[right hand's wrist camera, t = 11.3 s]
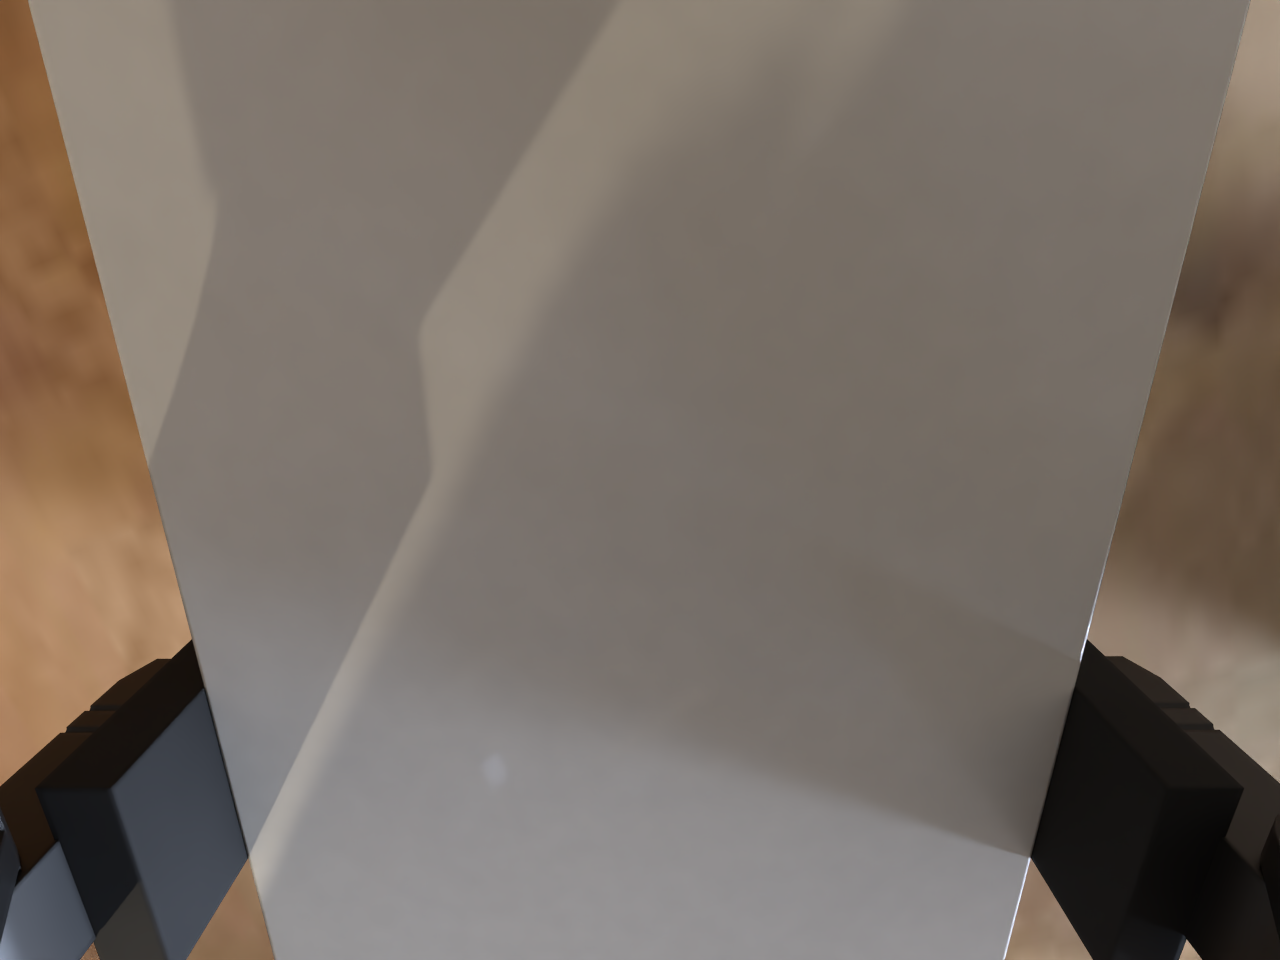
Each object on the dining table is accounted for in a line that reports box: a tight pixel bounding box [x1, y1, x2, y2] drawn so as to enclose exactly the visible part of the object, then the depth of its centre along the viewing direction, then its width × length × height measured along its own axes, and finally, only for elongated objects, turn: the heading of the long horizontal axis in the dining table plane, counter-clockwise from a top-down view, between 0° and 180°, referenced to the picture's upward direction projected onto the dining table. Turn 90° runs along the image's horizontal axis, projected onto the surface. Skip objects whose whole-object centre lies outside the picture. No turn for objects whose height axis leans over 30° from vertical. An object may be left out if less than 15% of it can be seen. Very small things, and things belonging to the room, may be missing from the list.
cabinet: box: [28, 0, 1251, 960], centre depth 12 cm, size 18×10×10 cm, turn 0°
